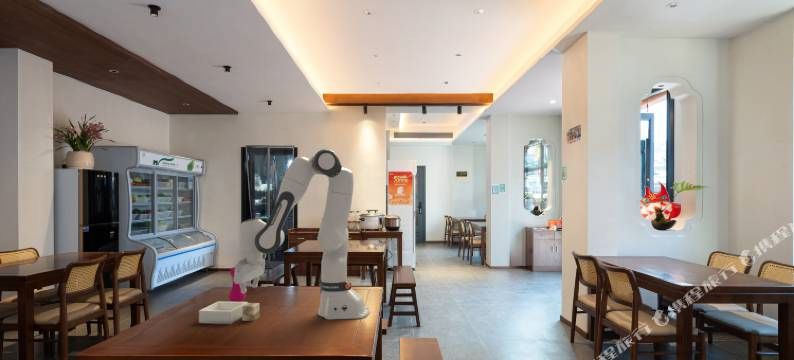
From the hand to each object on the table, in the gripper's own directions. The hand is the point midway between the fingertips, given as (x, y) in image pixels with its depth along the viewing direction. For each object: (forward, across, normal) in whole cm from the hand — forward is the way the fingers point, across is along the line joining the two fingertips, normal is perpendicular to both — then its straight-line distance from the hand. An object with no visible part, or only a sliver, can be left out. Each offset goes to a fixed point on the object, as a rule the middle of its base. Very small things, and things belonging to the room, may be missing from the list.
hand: (249, 289), depth 171 cm
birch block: (+12, 0, -1) cm, 12 cm away
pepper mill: (+13, +18, +15) cm, 27 cm away
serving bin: (+12, 0, +11) cm, 17 cm away
